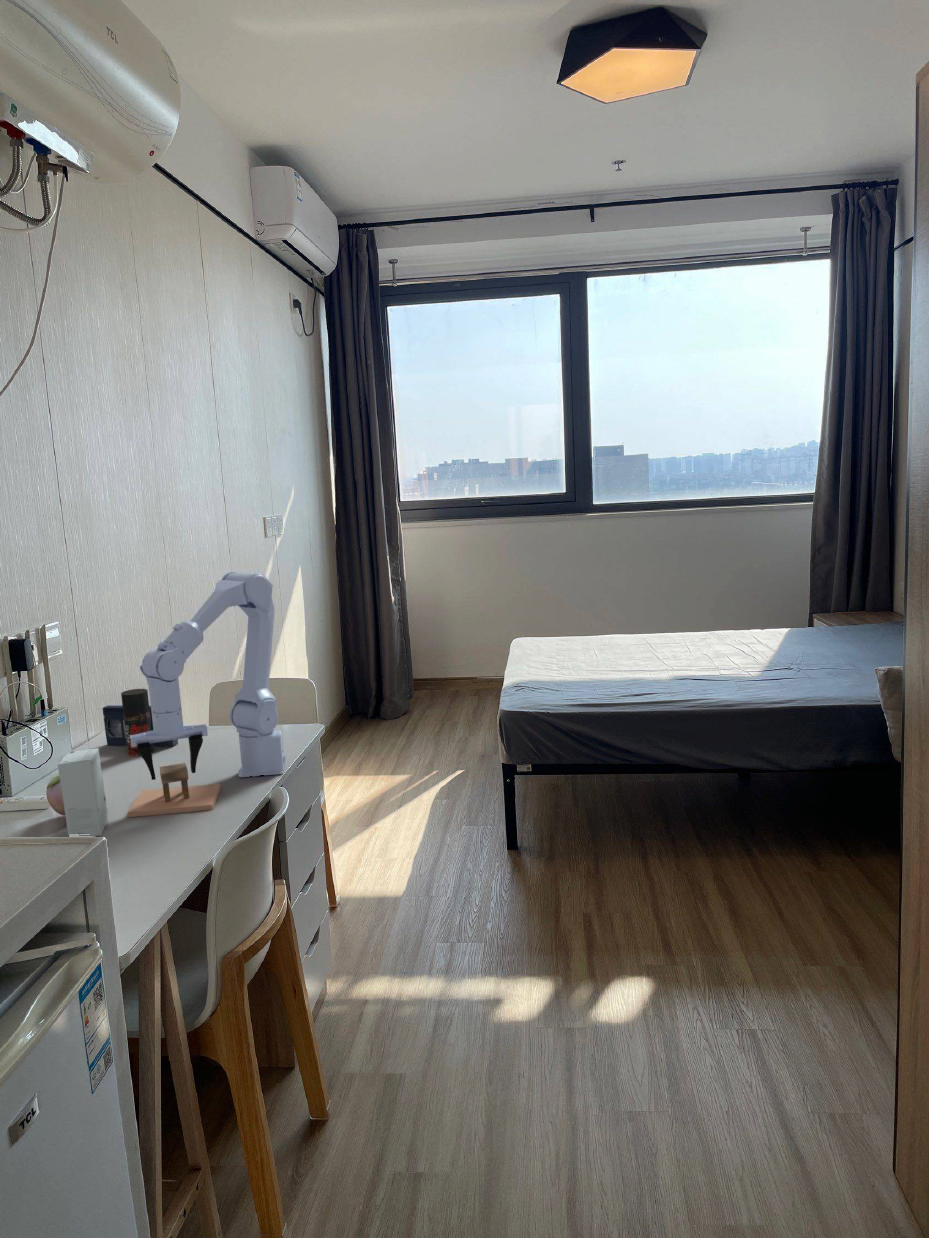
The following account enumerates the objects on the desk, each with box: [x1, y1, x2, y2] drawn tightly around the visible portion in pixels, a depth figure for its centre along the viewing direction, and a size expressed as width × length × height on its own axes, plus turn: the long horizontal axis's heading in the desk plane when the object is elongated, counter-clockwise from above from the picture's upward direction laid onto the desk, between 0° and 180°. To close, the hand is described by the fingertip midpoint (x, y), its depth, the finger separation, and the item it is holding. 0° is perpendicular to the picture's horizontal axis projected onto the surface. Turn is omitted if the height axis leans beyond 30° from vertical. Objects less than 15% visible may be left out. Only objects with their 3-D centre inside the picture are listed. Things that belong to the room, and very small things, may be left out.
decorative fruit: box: [45, 775, 66, 817], centre depth 170 cm, size 9×8×10 cm
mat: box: [127, 783, 222, 818], centre depth 176 cm, size 16×12×1 cm
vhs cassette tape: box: [102, 704, 179, 748], centre depth 215 cm, size 18×3×10 cm, turn 77°
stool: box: [159, 762, 189, 803], centre depth 176 cm, size 5×5×6 cm
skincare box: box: [57, 748, 110, 837], centre depth 162 cm, size 8×6×15 cm
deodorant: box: [120, 688, 155, 757], centre depth 209 cm, size 6×6×15 cm
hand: (173, 774), depth 175 cm, fingers open, 7 cm apart
